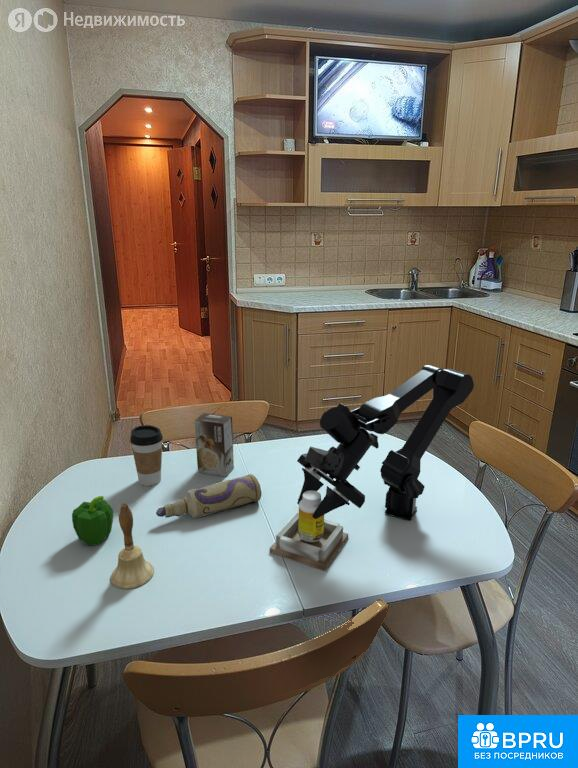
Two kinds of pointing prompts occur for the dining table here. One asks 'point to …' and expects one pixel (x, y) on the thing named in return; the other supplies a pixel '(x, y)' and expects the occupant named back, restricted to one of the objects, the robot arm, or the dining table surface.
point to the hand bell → (130, 557)
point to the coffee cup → (147, 453)
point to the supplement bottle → (310, 517)
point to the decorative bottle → (215, 497)
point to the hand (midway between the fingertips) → (306, 511)
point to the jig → (310, 544)
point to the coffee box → (214, 444)
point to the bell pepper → (93, 521)
